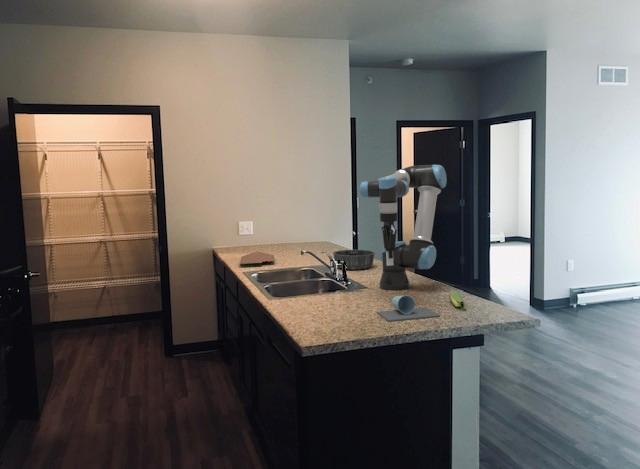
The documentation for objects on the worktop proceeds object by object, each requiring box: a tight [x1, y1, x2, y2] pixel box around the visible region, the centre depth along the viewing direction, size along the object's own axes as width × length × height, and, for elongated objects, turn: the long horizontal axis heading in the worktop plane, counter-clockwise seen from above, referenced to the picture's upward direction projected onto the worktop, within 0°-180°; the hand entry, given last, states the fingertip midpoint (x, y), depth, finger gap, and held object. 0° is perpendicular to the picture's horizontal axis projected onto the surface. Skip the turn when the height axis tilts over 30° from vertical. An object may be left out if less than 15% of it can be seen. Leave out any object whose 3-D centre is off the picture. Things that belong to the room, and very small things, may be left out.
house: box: [239, 250, 276, 267], centre depth 365 cm, size 23×33×8 cm
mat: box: [376, 307, 441, 323], centre depth 220 cm, size 14×22×1 cm, turn 103°
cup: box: [391, 294, 416, 314], centre depth 224 cm, size 8×8×10 cm
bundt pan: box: [332, 249, 376, 271], centre depth 334 cm, size 26×26×10 cm
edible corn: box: [448, 291, 466, 311], centre depth 233 cm, size 5×20×5 cm
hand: (390, 265), depth 239 cm, fingers closed
